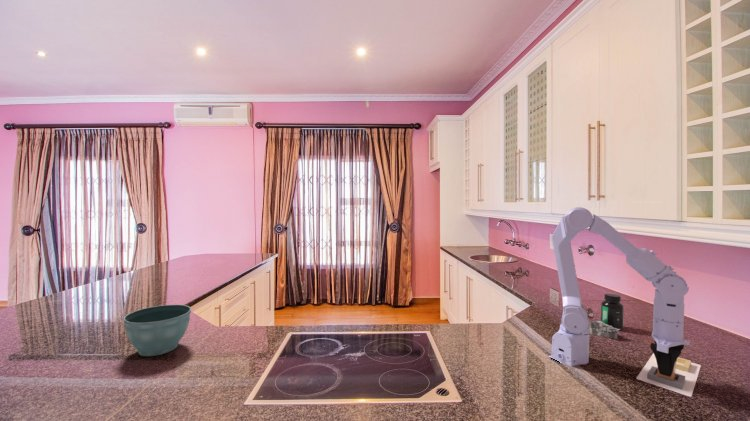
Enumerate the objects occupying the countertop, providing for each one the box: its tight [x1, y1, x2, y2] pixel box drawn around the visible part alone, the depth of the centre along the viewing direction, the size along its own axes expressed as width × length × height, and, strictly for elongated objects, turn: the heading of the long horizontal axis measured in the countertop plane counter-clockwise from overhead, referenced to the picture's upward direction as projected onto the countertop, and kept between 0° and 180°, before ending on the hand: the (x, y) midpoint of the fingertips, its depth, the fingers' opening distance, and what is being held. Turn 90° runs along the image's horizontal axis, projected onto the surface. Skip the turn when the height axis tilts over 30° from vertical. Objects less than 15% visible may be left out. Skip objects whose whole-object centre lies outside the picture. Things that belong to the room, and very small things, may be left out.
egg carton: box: [587, 320, 621, 340], centre depth 113 cm, size 11×8×4 cm
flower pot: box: [123, 304, 192, 357], centre depth 93 cm, size 16×16×11 cm
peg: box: [657, 361, 676, 381], centre depth 81 cm, size 3×3×6 cm
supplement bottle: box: [600, 293, 625, 331], centre depth 119 cm, size 7×7×12 cm
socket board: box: [636, 353, 702, 398], centre depth 85 cm, size 24×10×2 cm, turn 131°
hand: (666, 372), depth 81 cm, fingers closed on peg, 3 cm apart
